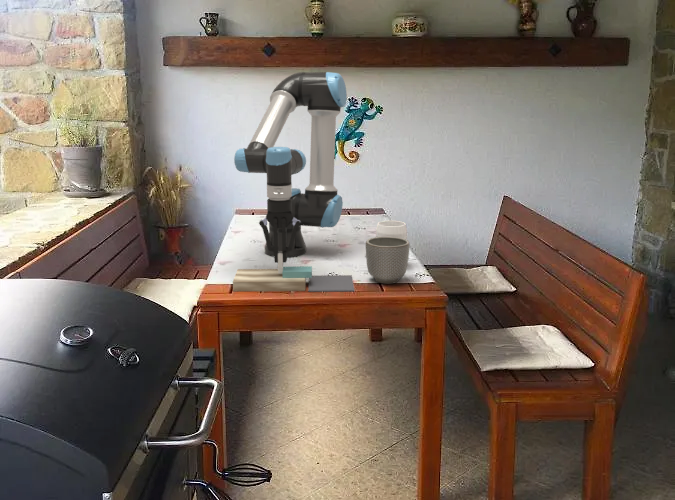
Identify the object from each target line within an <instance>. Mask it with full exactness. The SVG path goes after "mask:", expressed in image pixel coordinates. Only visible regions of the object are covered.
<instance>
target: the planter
mask: <svg viewBox="0 0 675 500" xmlns="http://www.w3.org/2000/svg"><path fill="white" fill-rule="evenodd" d="M409 257H410V241H409V240H408V239H403V238H398V237H376V236H375V237H370V238H368V239H366V241H365V260H366V267H367V272H368V274H369V275H370V276H371V277H372V278H373V279H375V281H376V282H377V283H379V284H385V285H388V284H389V285H390V284H396V283H397V282H398V281H399V279H401V278H403V277H404V276H405V274H406V273H407V269H408V266H409V265H408V264H409V263H408V262H409Z"/></svg>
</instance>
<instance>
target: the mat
mask: <svg viewBox="0 0 675 500" xmlns="http://www.w3.org/2000/svg"><path fill="white" fill-rule="evenodd" d="M307 291H308V292H309V293H319V292H320V293H323V292H324V293H325V292H329V293H331V292H333V293H334V292H335V293H337V292H339V293H340V292H349V293H350V292H355V287H354V280H353V276H352V274H351V275H349V274H348V275H347V274H346V275H343V274H342V275H341V274H339V275H338V274H337V275H329V274H326V275H325V274H324V275H323V274H322V275H312V278H308V290H307Z"/></svg>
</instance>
